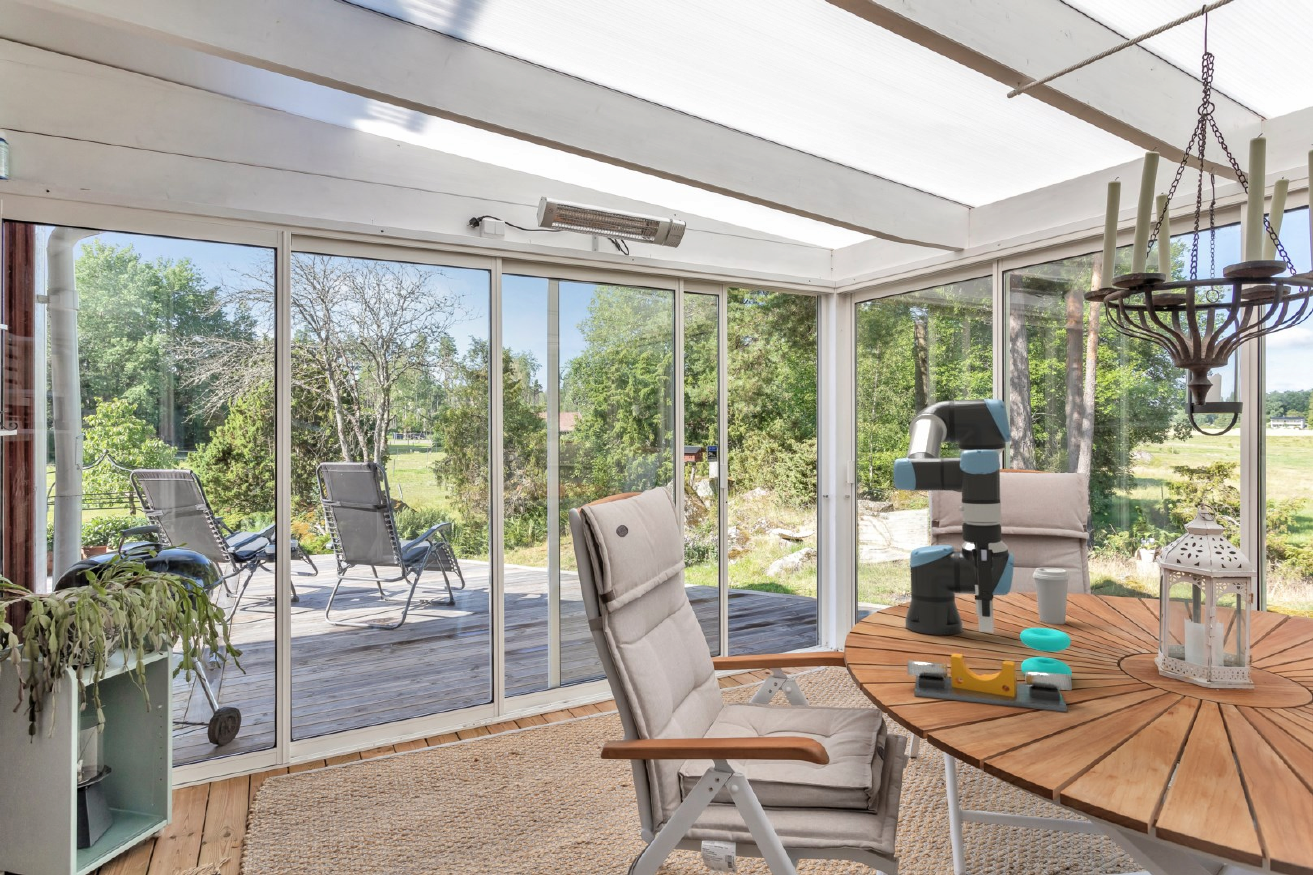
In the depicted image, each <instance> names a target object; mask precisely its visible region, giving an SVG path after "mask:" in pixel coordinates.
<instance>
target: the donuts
mask: <svg viewBox="0 0 1313 875" xmlns="http://www.w3.org/2000/svg"><path fill="white" fill-rule="evenodd" d="M1019 638H1020V640H1021V642H1022V643H1023V644H1024V645H1025V646H1027V647H1028V648H1030V649H1034V650H1037V651H1041V652H1061V651H1065V650H1066V649H1068V648H1070V646H1071V642H1072V640H1071V637H1070V636H1069V634H1067V633H1066V632H1063V631H1062V630H1057V629H1053V628H1047V627H1030V628H1026V629H1023V630H1022V631H1020V634H1019ZM1020 670H1021V672H1022V674H1024V675H1025V671H1033V672H1045V673H1056V674H1067V675H1070V676H1071V677H1072V674H1073V671H1072V668H1071V667H1070V666H1069V665H1068V664H1067V663H1065V662H1063V661H1061V660H1058V659H1056V658H1053V657H1052V658H1051V657H1045V656H1033V657H1029V658H1026V659H1024V660H1023V661H1022V663H1021V665H1020Z"/></svg>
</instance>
